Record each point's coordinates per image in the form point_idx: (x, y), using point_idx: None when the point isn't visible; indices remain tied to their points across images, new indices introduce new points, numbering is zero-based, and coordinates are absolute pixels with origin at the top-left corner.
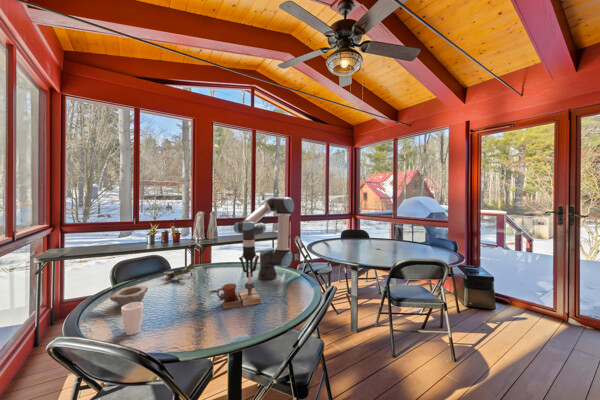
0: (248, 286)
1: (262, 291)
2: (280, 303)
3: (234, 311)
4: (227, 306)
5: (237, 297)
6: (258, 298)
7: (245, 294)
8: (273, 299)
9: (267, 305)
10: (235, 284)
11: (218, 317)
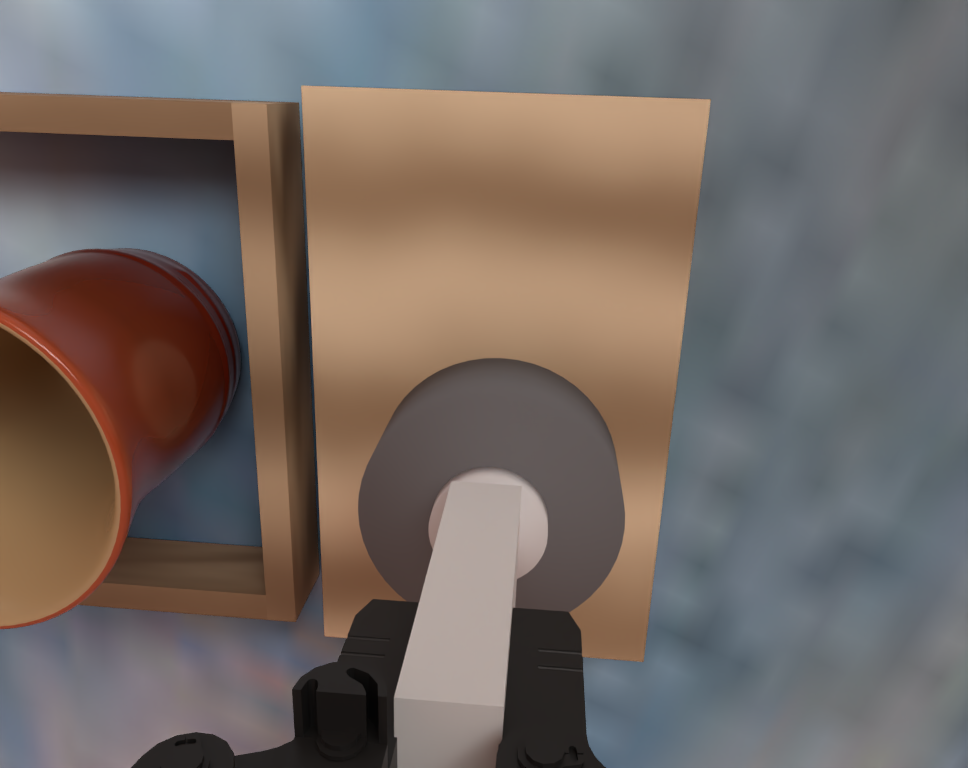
0: None
1: (890, 90)
2: (906, 750)
3: (207, 687)
4: None
5: (257, 412)
6: (601, 654)
7: (421, 376)
8: (887, 577)
9: (695, 723)
10: (101, 436)
11: (8, 744)
